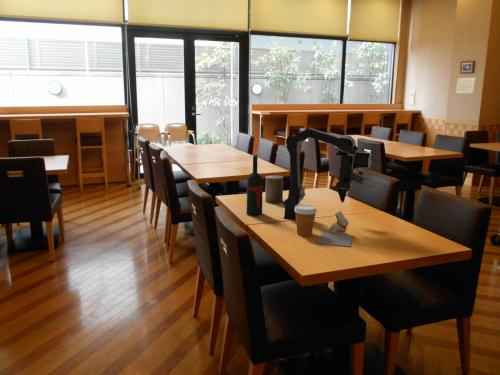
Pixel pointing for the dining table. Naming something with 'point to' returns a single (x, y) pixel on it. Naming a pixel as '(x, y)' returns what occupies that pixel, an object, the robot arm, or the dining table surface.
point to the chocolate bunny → (339, 224)
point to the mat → (335, 239)
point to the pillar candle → (274, 189)
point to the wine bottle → (254, 191)
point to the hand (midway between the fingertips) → (343, 199)
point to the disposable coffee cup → (305, 219)
